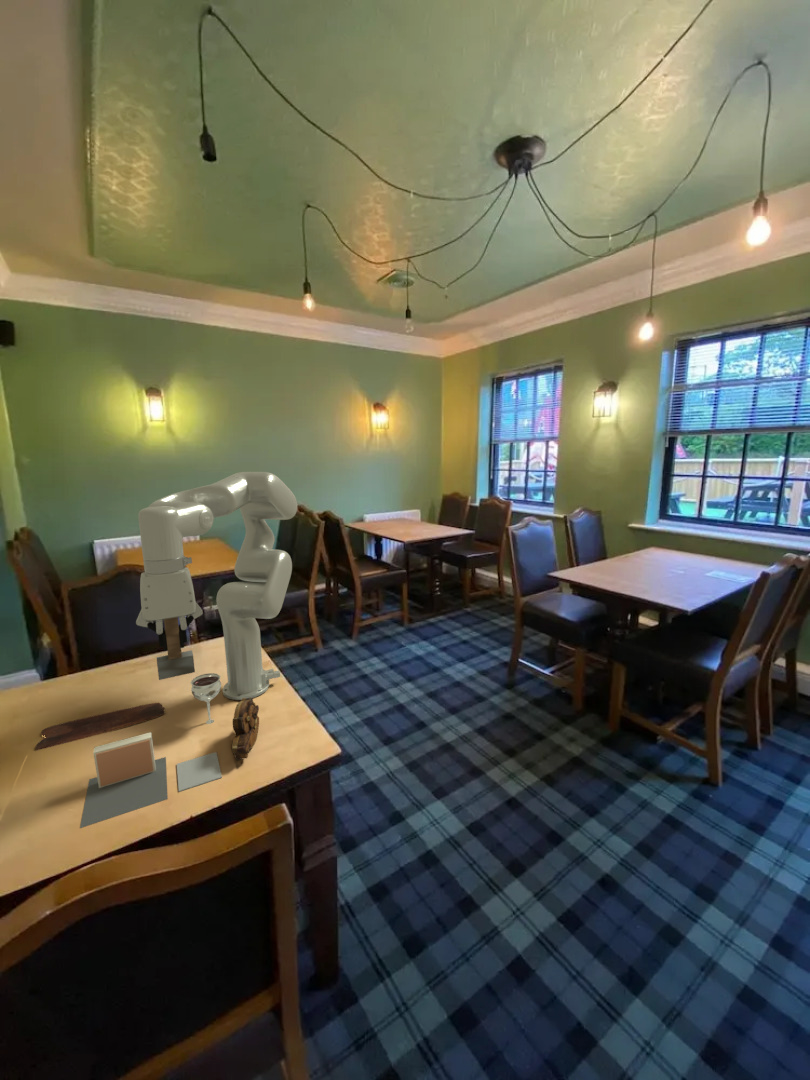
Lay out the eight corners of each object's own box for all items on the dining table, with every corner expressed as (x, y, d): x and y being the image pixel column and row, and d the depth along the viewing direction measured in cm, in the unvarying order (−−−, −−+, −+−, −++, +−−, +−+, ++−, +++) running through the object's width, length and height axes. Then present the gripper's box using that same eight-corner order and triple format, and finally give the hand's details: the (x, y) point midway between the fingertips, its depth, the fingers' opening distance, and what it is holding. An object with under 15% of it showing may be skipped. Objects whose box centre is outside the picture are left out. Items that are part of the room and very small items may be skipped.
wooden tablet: (162, 696, 123) (164, 709, 115) (163, 704, 123) (166, 718, 115) (40, 727, 110) (32, 745, 101) (42, 736, 110) (34, 754, 101)
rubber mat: (166, 759, 99) (165, 756, 99) (167, 801, 87) (167, 798, 87) (89, 781, 93) (89, 779, 92) (80, 830, 81) (79, 828, 80)
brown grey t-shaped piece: (193, 666, 102) (187, 603, 99) (194, 672, 99) (188, 607, 96) (158, 674, 98) (150, 609, 95) (159, 680, 96) (151, 613, 93)
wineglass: (196, 735, 108) (191, 689, 105) (194, 720, 113) (189, 676, 111) (226, 727, 111) (222, 682, 108) (223, 713, 117) (219, 670, 114)
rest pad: (216, 755, 100) (216, 751, 100) (222, 780, 93) (221, 776, 93) (177, 767, 97) (176, 763, 97) (179, 794, 89) (178, 790, 89)
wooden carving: (254, 766, 97) (251, 725, 95) (232, 769, 96) (228, 727, 94) (262, 722, 113) (259, 686, 111) (243, 724, 112) (240, 688, 110)
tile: (155, 765, 96) (151, 732, 95) (155, 771, 94) (151, 738, 93) (100, 781, 92) (94, 747, 90) (98, 789, 90) (93, 753, 88)
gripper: (204, 557, 101) (211, 634, 105) (120, 566, 93) (130, 649, 97) (208, 564, 95) (216, 645, 98) (118, 574, 87) (130, 663, 90)
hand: (173, 646), depth 97 cm, fingers closed on brown grey t-shaped piece, 2 cm apart
